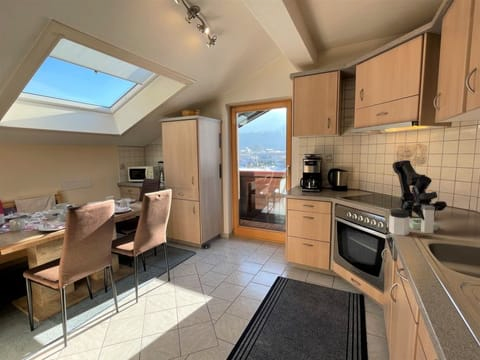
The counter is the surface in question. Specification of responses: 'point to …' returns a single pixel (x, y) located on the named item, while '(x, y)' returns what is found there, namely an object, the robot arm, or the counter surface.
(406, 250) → the counter surface
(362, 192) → the counter surface
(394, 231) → the jar
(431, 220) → the plug
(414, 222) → the socket
